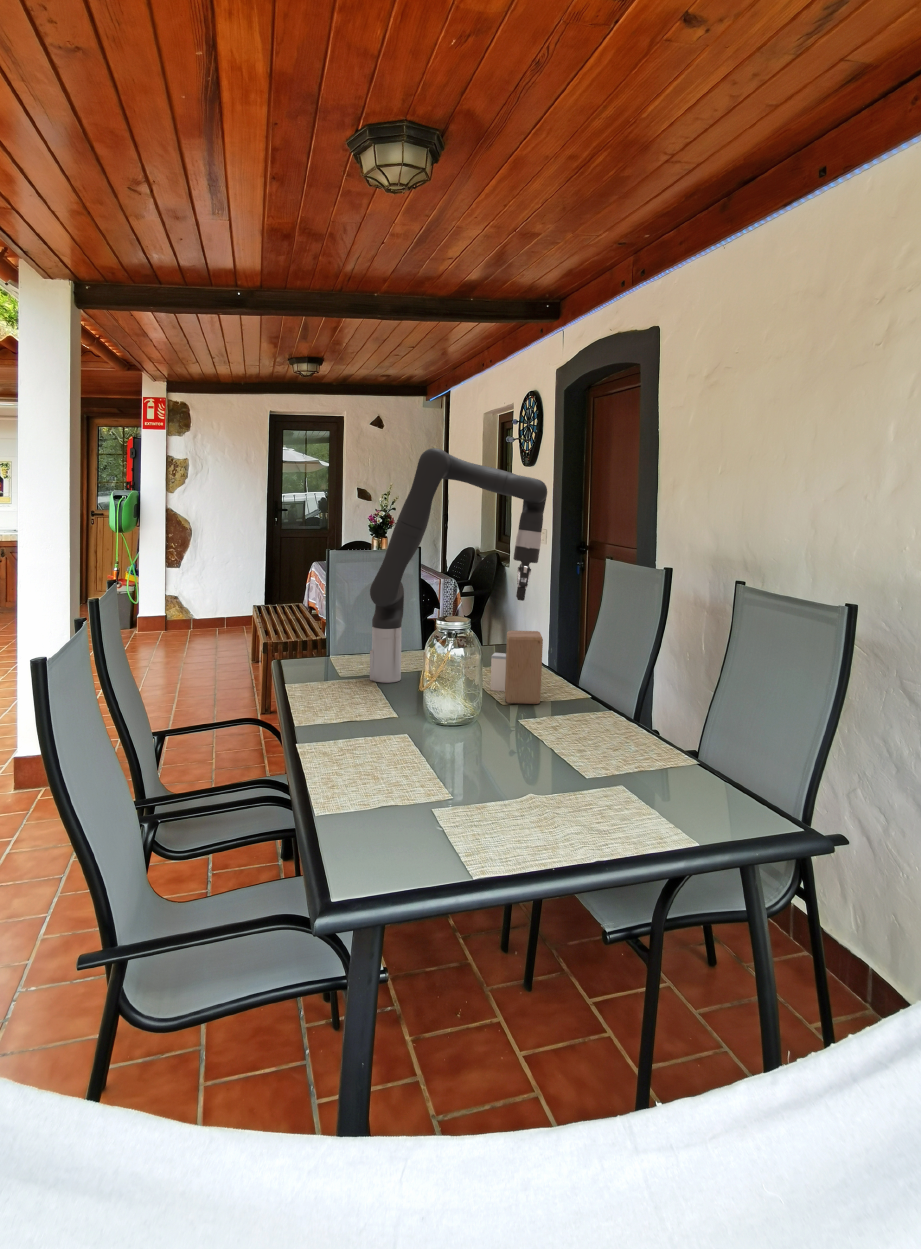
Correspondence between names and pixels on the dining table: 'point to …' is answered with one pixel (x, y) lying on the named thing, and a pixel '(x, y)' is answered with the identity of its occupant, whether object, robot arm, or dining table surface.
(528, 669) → the wooden block
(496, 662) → the beige upright block
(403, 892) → the dining table surface
